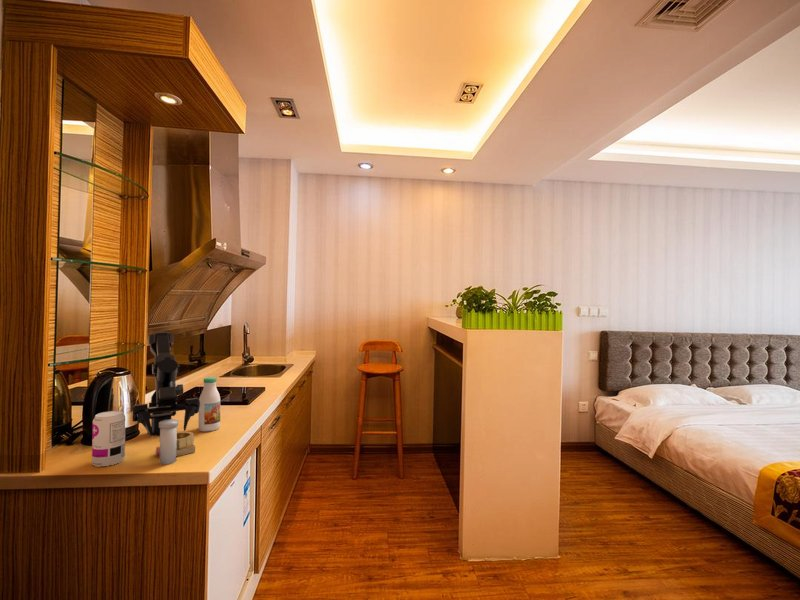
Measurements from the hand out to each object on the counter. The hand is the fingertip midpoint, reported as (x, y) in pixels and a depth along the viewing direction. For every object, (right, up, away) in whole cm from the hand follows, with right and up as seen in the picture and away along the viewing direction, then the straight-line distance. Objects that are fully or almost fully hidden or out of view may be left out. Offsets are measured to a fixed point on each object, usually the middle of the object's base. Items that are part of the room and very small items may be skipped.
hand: (168, 432), depth 124 cm
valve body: (-3, -9, +9) cm, 13 cm away
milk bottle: (-2, -9, +31) cm, 33 cm away
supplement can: (-17, -9, -2) cm, 20 cm away
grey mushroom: (0, -9, -1) cm, 9 cm away
